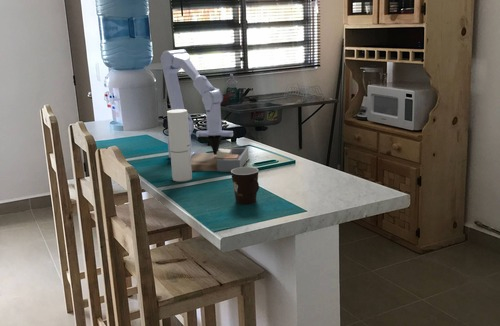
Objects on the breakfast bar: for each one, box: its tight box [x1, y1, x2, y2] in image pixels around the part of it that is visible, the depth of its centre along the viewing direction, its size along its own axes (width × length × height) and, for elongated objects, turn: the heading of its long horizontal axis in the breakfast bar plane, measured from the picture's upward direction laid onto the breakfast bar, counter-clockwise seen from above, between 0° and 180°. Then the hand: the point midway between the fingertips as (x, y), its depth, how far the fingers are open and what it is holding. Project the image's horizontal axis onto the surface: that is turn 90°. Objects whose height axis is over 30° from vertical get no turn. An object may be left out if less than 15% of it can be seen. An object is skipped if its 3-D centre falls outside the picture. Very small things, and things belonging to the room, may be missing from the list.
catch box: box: [216, 147, 249, 173], centre depth 210 cm, size 9×19×4 cm, turn 170°
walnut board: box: [191, 152, 223, 172], centre depth 212 cm, size 13×17×2 cm
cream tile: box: [217, 148, 232, 158], centre depth 213 cm, size 5×5×2 cm
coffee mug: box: [230, 166, 260, 205], centre depth 167 cm, size 12×9×10 cm
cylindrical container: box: [166, 109, 193, 182], centre depth 193 cm, size 7×7×25 cm
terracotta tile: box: [224, 155, 239, 160], centre depth 206 cm, size 5×5×2 cm
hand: (215, 154), depth 214 cm, fingers closed
